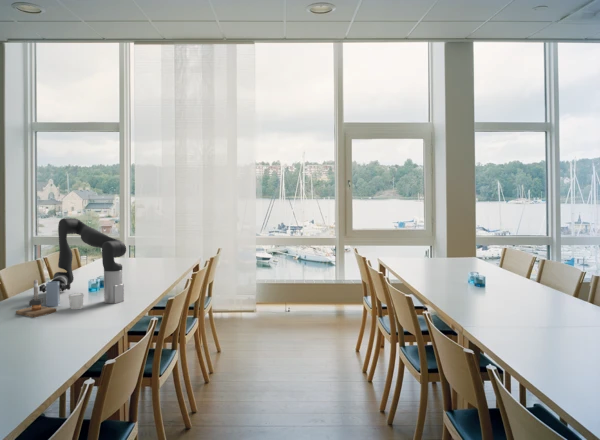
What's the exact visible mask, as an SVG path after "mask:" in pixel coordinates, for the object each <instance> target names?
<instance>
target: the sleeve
mask: <svg viewBox="0 0 600 440" xmlns="http://www.w3.org/2000/svg"><path fill="white" fill-rule="evenodd" d="M45 286H46V291H45V295H46V296H45V298H46V307H49V308H50V307H58V306H59V305H60V303H61V302H60V300H61V299H60V294H61V293H60V292H61V291H60V288H59V281H53V282H51V281H48V282H46V284H45Z"/></svg>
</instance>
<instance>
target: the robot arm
mask: <svg viewBox="0 0 600 440" xmlns="http://www.w3.org/2000/svg"><path fill="white" fill-rule="evenodd" d="M57 227H58V228H57V229H58V230H57V232H58V247H59V249H58V250H59V254H58V264H57V267H58V268H59V269H62V270H65V271H66V272H65V271H57V272H55V273H54V275H53V278H52V280H51V281H50V282H53V281H59V288H60V292H64V291H66V290H68V291H69V290H71V284H72V283H73V282H74V273H73V269H72V265H73V251H72V249H71V247H70V245H69V242H68V238H67V237H68V235H79V236H80V239H81V241H82V242H83V243H84V244H86V245H88V246H91V247H94V248H99V249H101V259H102V260H101V261H102V266H103V267H102V268H103V298H104V300H103V302H104V303H105V304H118V303H122V302H124V301H125V288H124V287H125V284H124V283H123V264H121V263H118V262H115V258H121V257H123V256H125V254H126V252H127V247H126V244H125V243H124V242H123V241H122V240H120V239H117V238H114V237H111V236H109V235H107V234H105V233H103V232H100V230H98V229H95V228H93V227H91V226H88V225H87V224H85V223H84V222H83V221H81V220H80V219H78V218H74V217H73V218H69V217H67V218H63V217H62V218H61V219H60V220H59V222H58V226H57ZM38 292H42V293H46V284H41V285H40V286H38Z"/></svg>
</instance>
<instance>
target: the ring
mask: <svg viewBox="0 0 600 440" xmlns="http://www.w3.org/2000/svg"><path fill="white" fill-rule="evenodd" d="M28 302H29V304H28V305H29V306H32V305H41V306H42V304H43V303H44V298H43V297H40V298H39V297H38V300H34V298H31V299H30V300H28Z"/></svg>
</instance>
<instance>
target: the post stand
mask: <svg viewBox="0 0 600 440" xmlns="http://www.w3.org/2000/svg"><path fill="white" fill-rule="evenodd" d="M38 298H39V280H38V279H34V280H33V299H34V300H38ZM57 311H58V309H57V308H53V307H50V306H49V307H47V306H43V305H42V304H41V305H31V306H29V307H25V308H22V309H17V310H15V314H17V315H21V316H25V317H30V318H39V317H42V316H47V315H49V314H53V313H57Z"/></svg>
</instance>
